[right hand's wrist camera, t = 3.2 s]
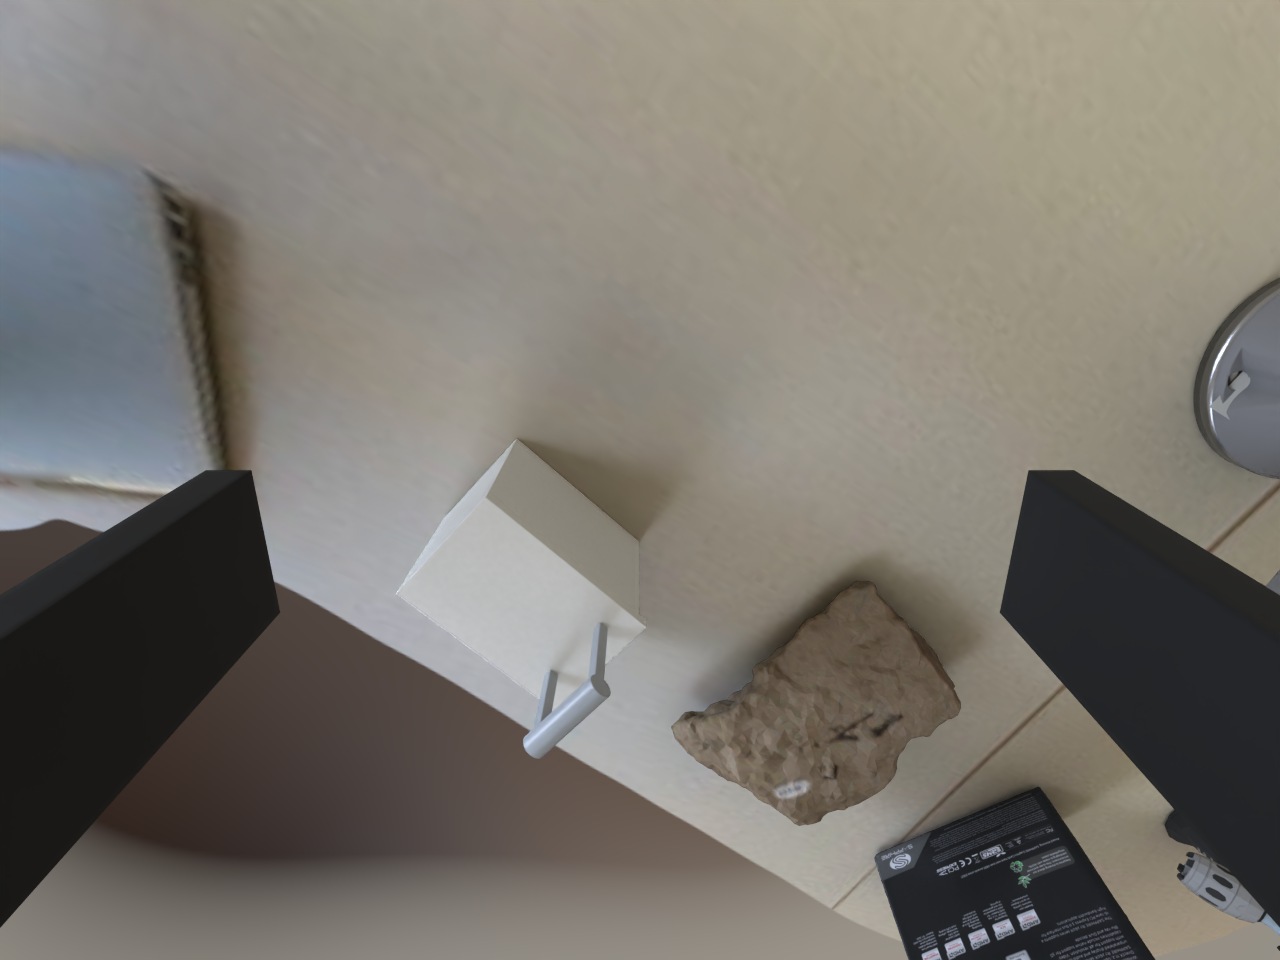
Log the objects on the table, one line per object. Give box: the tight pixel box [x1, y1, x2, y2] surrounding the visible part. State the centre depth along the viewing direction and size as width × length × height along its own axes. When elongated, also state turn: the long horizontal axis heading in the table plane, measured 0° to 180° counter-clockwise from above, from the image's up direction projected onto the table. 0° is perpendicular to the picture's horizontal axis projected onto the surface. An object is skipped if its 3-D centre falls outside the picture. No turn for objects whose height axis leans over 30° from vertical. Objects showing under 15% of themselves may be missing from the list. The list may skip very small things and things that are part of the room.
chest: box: [402, 439, 640, 613], centre depth 52 cm, size 13×9×11 cm
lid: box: [396, 492, 647, 758], centre depth 43 cm, size 13×9×8 cm
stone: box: [671, 581, 961, 826], centre depth 60 cm, size 21×15×6 cm
